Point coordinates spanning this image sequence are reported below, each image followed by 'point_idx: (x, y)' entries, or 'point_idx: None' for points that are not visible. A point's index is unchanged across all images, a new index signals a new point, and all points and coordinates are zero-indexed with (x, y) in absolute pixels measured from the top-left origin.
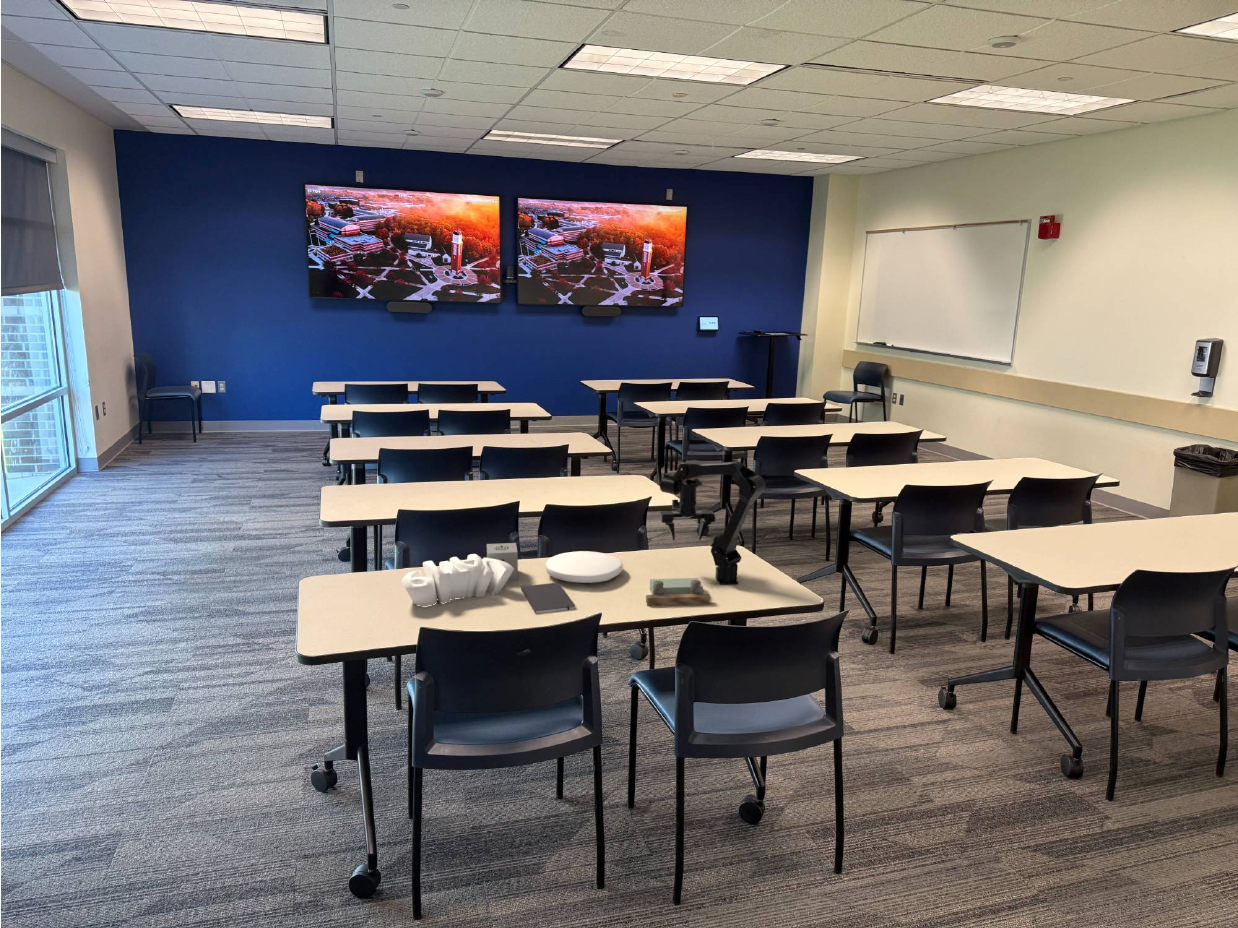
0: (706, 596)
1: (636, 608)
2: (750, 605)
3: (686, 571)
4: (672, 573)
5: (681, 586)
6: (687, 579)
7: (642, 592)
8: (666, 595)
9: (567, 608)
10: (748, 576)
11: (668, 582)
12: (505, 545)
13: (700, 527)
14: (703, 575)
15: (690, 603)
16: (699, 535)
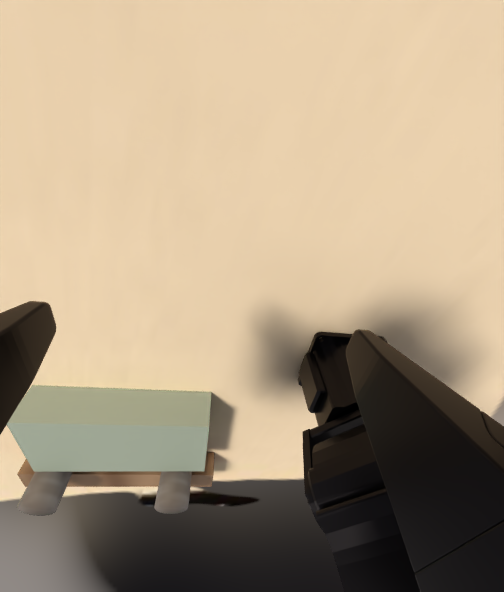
0: (201, 485)
1: (9, 469)
2: None
3: (219, 236)
4: (138, 250)
5: (133, 468)
6: (165, 433)
7: None
8: (85, 477)
9: None
10: (445, 332)
11: (87, 446)
12: None
13: (457, 490)
14: (281, 297)
15: None
16: (368, 388)
